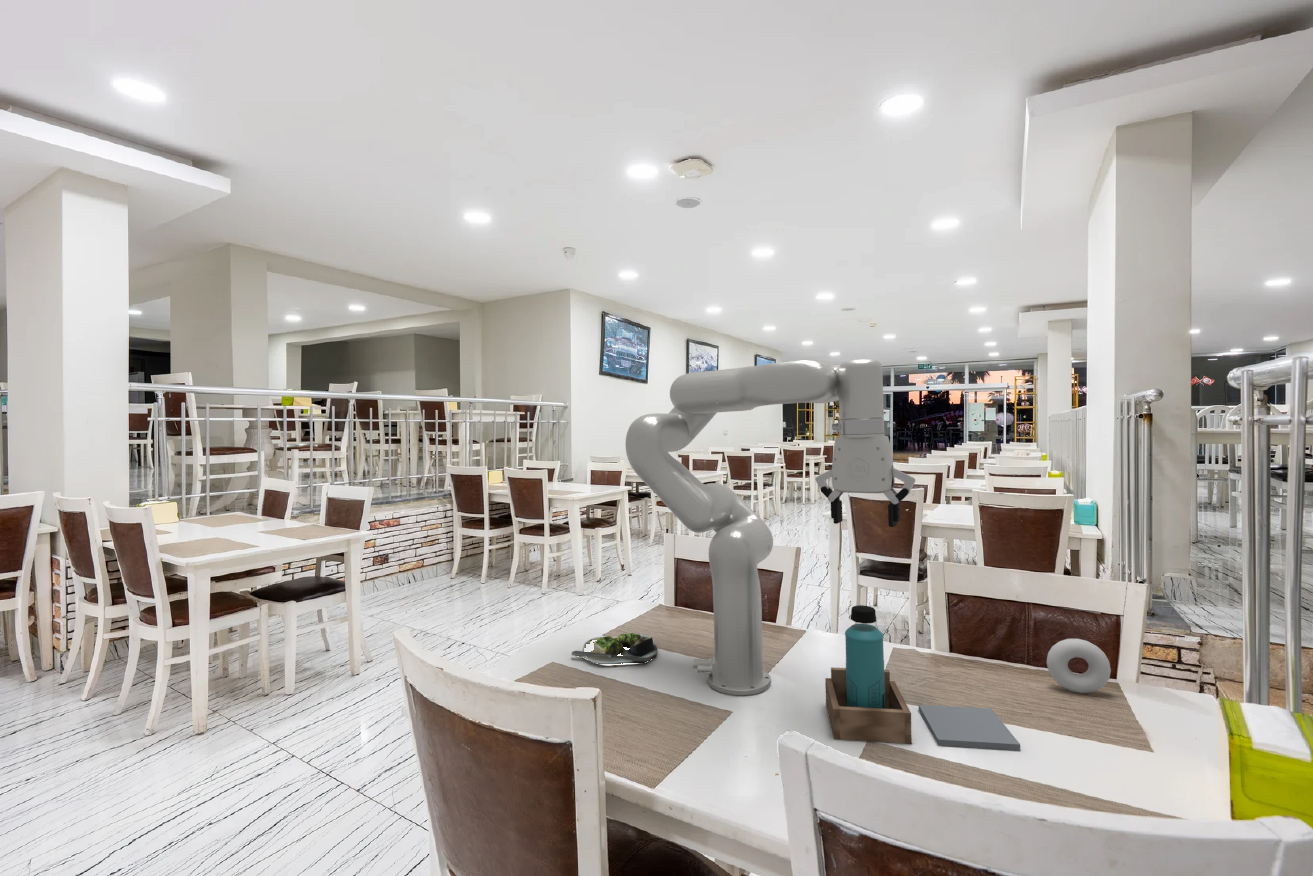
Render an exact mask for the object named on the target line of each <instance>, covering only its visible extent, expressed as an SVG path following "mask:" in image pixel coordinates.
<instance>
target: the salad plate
mask: <svg viewBox="0 0 1313 876" xmlns="http://www.w3.org/2000/svg"><path fill="white" fill-rule="evenodd" d="M613 636H614V635H613ZM613 636H612V635H608V636H597V637H593V638H590V639H588V640H587V641H585V642H584V643H583V646H584V647H583V648H586V644H590V642H591V641H592V640H597V641H595V642H593V643H594V650H593V651H591V652H584V651H581V650H573V651H571V656H574V657H577V656H579V657H578V658H581V657H584V658H586V659H588V660H589V661H591V662H594V663H598V664H621V663H622V664H623V663H644V664H646V663H645V662H647V661H650V660H651V659H653V658H655V659H656V657H657V656H658V652H659V650H658V647H657V645H656V643H655V641H654V639H653V637H651V636H649V635H647V634H643V633H636V632H635V633H633V632H626V633H621V634H619V635H617V636H618V637H617V638H613ZM623 647H627V648H630V649H629V650H625V649H624V648H623ZM620 653H621V655H623V656H617V655H618V654H620ZM653 660H654V659H653ZM589 661H588V662H589ZM591 662H590V663H591ZM650 662H651V661H650ZM594 663H593V664H594ZM647 663H648V662H647Z"/></svg>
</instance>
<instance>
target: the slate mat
mask: <svg viewBox="0 0 1313 876" xmlns="http://www.w3.org/2000/svg"><path fill="white" fill-rule="evenodd" d="M917 706H918V711H919V714H920V716H921V717H922V720H924V721H923V722H924V723H925V724H926V726H927V728H928V730H929V732H930V733H931V736H932V737H933V739H934V741H935V742H936V744H937V746H939V747H952V748H955V747H956V748H968V749H983V750H984V749H985V750H986V749H987V750H1002V751H1015V752H1016V751H1018V752H1019V751H1021V743H1020V742H1019V741H1018V740H1017V738H1015V736H1014V735H1013V733H1012V732H1011V731H1010V730H1009V728H1008V727H1007V726H1006V724H1005V723H1004V722H1003V721H1002V720H1001V719H1000V717H999V716H998V715H997V714H996V713H995V711H994V710H993V708H990V707H973V706H972V707H971V706H954V705H953V706H949V705H937V704H936V705H933V704H918V705H917Z"/></svg>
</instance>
